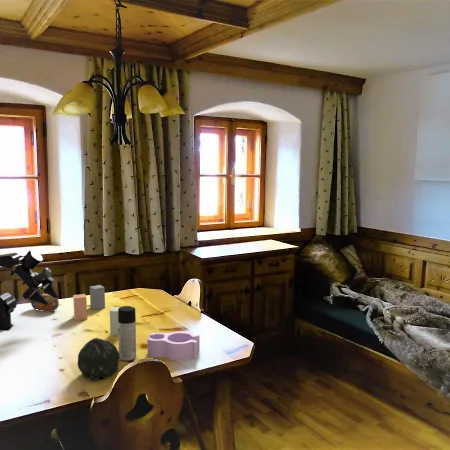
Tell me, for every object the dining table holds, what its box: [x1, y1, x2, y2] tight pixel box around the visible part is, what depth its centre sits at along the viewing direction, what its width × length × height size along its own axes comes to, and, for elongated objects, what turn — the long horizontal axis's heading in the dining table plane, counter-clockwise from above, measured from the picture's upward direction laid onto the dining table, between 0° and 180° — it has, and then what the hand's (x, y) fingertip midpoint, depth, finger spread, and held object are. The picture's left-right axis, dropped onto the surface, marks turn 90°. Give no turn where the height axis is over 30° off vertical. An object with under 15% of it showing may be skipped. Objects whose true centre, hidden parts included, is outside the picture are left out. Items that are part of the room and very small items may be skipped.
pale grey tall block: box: [109, 306, 121, 336], centre depth 206 cm, size 6×6×11 cm
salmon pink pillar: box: [72, 293, 88, 322], centre depth 224 cm, size 6×6×11 cm
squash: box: [77, 337, 120, 381], centre depth 167 cm, size 14×15×15 cm
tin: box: [30, 293, 60, 313], centre depth 235 cm, size 15×3×8 cm, turn 73°
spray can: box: [117, 305, 137, 362], centre depth 181 cm, size 7×7×20 cm
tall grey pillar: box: [89, 284, 106, 311], centre depth 240 cm, size 6×6×11 cm
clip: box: [146, 331, 201, 361], centre depth 186 cm, size 20×12×7 cm, turn 84°
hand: (52, 300), depth 208 cm, fingers open, 9 cm apart
